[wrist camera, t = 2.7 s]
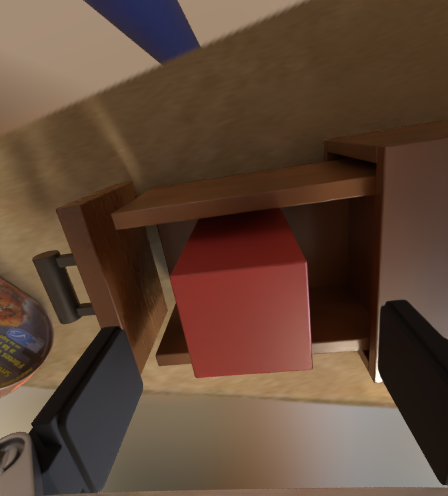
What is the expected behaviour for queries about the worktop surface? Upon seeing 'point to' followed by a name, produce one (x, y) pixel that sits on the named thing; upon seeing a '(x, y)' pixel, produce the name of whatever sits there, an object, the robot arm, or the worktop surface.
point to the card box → (244, 296)
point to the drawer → (179, 230)
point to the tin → (21, 337)
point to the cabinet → (405, 221)
